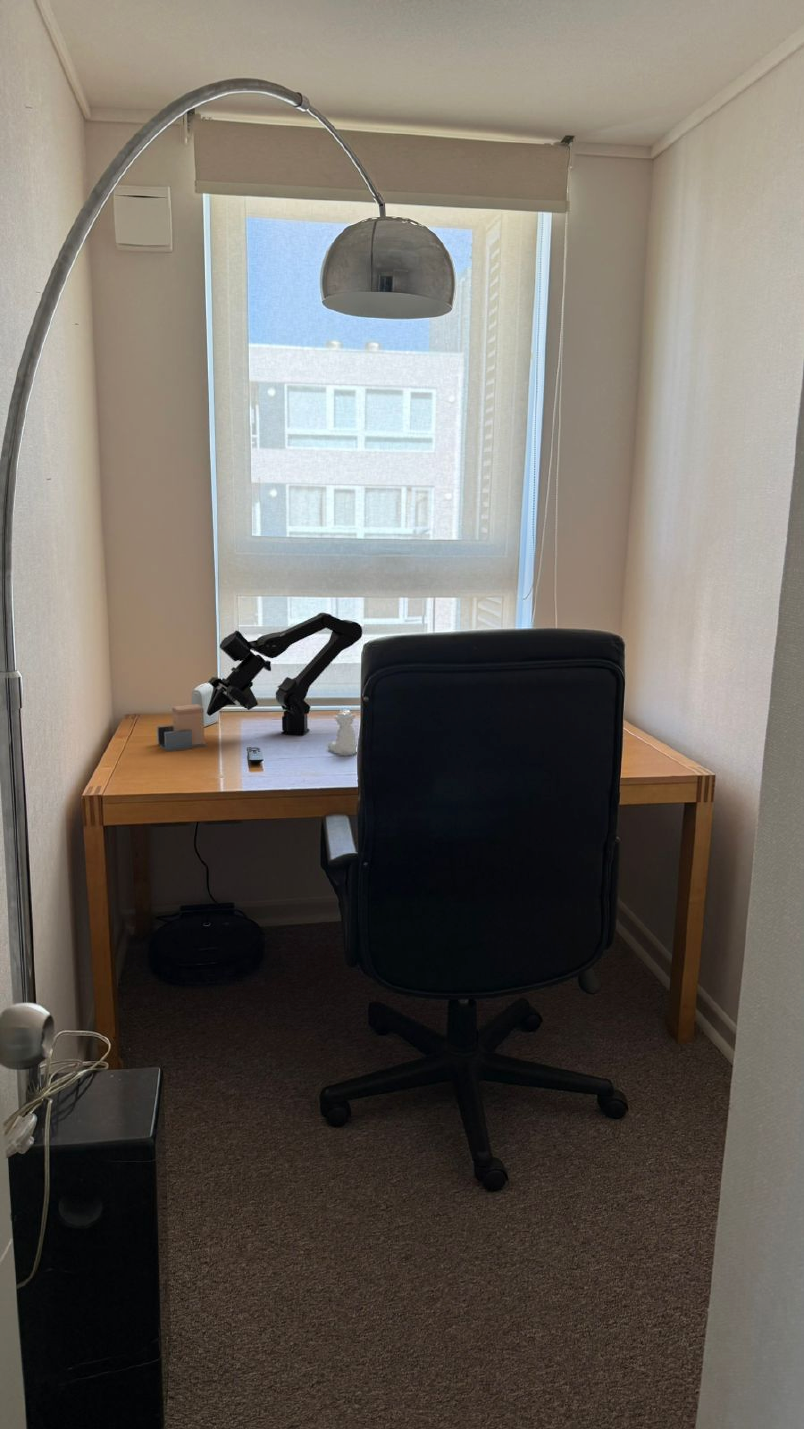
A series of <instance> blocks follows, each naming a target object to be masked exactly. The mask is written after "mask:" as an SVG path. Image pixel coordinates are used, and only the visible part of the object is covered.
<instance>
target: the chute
mask: <svg viewBox="0 0 804 1429" xmlns="http://www.w3.org/2000/svg"><path fill="white" fill-rule="evenodd" d="M156 729H157V730H156V733H157V736H156V737H157V745H158V744H159V745H160V746H161V747H160V746H159V745H158V746H159V747H160V748H162V750H164V751H165V752H166V751H167V752H173V751H182V750H192V749H193V748H199V747H206V746H205V745H207V746H208V744H207V743H206V741H204V744H196V745H192V731H191V730H181V731H174V730H173V724H170V725H168V724H167V725H159V726H156ZM197 746H198V747H197Z"/></svg>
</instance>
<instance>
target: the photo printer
mask: <svg viewBox="0 0 804 1429" xmlns="http://www.w3.org/2000/svg"><path fill="white" fill-rule="evenodd" d="M212 692H213V686H212V685H210V684H209V683H208V682H205V683H202V684H200V685H197V686H196V687H195V688H194V689H193V690H192V692H191V694H190V695H191V705H195V704H198V705H200V706H201V707H203V709H204V713H203V715H204V728H206V727H209V726H211V725H213V724H215V723H217V722H219V721H220V710H218V711H217V712H215V713H214V714H212V715H211V716H209V715H208V714H207V709H208V706H209V703H210V700H211V696H212Z"/></svg>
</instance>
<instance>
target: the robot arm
mask: <svg viewBox="0 0 804 1429" xmlns="http://www.w3.org/2000/svg"><path fill="white" fill-rule="evenodd" d="M325 629H327V630H330V631H331V633H330V637H329V640H328V642H326V644H325V645H324V646H323V647H322V648H320V650H319V652H318V653H316V655H315V656H314V657H313V658H312V659H311V660H310V661H309V662H308V663H307V665H306V666H305V667H304V668H303V669H302V671H301V670H300V673H298V675H297V676H295V677H294V678H291V677H289V676H287V677H285V679H284V680H283V682H282V683H281V684H279V685H277V688H278V689H277V690H276V691H275V699H276V702H277V703H278V704H279V705H280V706H281V710H283V715H282V717H281V730H282V732H281V734H282V735H294V736H295V735H296V736H304V735H305V734H306V733H308V732H310V728H308V715H309V713H310V710H311V706H310V705H309V704H308V702H306V701H305V699H306V697H307V696H308V695H307V694H308V692H309V689H310V688H311V685H313V683H314V682H315V681H316V680H317V679H318V678H319V677H320V676H321V674H322V673H323V672H324V671H325V670H326V669H327V668H328V667H329V666H330V664H332V662H333V661H334V660H335V659H336V658H337V656H339V654H340V653H342V652H343V651H344V650H346V649H348V648H349V647H352V646H353V645H354V644H356V643H357V642H358V641H359V640H361V638H362V637H363V628H362V626H361V624H360V623H358V622H356V621H352V620H349V619H340V618H338V617H336V616H333V615H332V614H330V613H327V612H320V613H318V614H317V615H315V616H313V617H310V618H308V619H306V620H304V621H302V622H300V623H297V624H296V625H293V626H291V627H289V628H287V629H285V630H281V631H277V632H271V633H267V634H262V635H261V636H259V637H257V639H256V640H255V639H254V640H250V641H248V640H247V638H245V637H244V635H243V634H242V633H241V632H240V631H239V630H234V631H233V633H231V634H229V635H228V636H226V637H224V638H223V640H221V643H220V644H219V649H220V650H222V651H223V653H225V654H226V656H228V657H229V659H231V660H232V661H233V662H239V663H238V665H236V666H235V667H232V668H231V669H230V670H231V672H230V674H229V675H227V677H226V678H224V677H223V678H222V679H221V678H219V677H218V676H212V677H211V678H210V679H209V680H208V681H207V683H209V684H210V685H212V686H213V692H212V696H211V700H210V703H209V706H208V709H207V714H208V715H209V716H211V715H212V714H214V713H215V712H217V711H218V710H219V711H220V710H221V709H223V708H224V707H226V706H237V704H236V701H237V702H238V703H239V706H241V707H242V708H244V709H247V711H250V710H252V709H253V708H255V707H257V706H258V705H259V703H258V701H257V698H256V696H255V695H254V693H253V691H252V687H253V685H254V682H252V681H253V680H254V679H255V678H256V677H257V676H258V675H259V674H260V672H262V670H263V669H264V670H266V671H268V672H271V671H272V666H271V664H272V662H271V661H270V660H266V659H265V658H263V657H266V658H269V659H274V658H275V659H276V658H277V657H278V656H280V655H281V654H283V653H285V652H286V651H287V650H288V649H289V647H290V646H292V645H294V644H295V643H297V642H299V641H302V640H305V638H308V637H309V636H312V635H314V634H316V633H318V632H321V631H322V630H325ZM253 652H256V653H258V654H254V653H253ZM261 655H262V656H261Z"/></svg>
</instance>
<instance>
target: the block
mask: <svg viewBox="0 0 804 1429" xmlns="http://www.w3.org/2000/svg"><path fill="white" fill-rule="evenodd" d="M171 709H172V710H171V711H172V725H173V730H174V731H181V730H191V731H192V745H196V744H204V742H205V727H204V715H203V713H204V709H203V707H201V706H200V705H198V704H195V705H192V704H187V705H175V706H172V708H171Z"/></svg>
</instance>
